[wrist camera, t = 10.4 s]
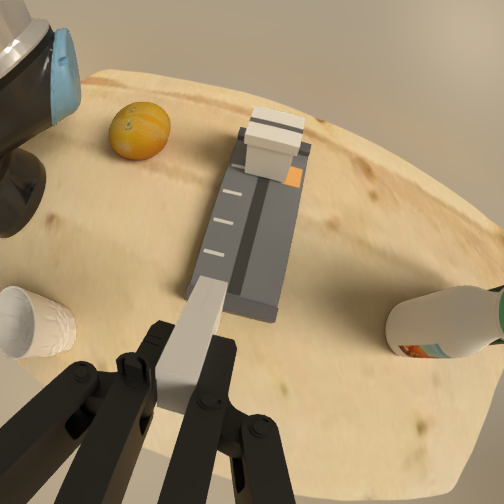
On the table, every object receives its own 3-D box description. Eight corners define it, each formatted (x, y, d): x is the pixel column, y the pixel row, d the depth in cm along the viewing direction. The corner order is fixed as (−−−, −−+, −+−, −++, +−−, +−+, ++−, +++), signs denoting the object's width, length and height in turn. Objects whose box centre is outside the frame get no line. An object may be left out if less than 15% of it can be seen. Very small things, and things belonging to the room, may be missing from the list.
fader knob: (286, 185, 35) (299, 146, 28) (241, 174, 35) (244, 133, 28) (292, 157, 37) (305, 117, 29) (250, 146, 37) (255, 105, 29)
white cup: (42, 293, 31) (-3, 278, 22) (85, 307, 32) (41, 295, 22) (34, 347, 29) (-13, 345, 19) (77, 365, 29) (31, 370, 20)
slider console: (271, 323, 33) (275, 322, 30) (188, 301, 33) (184, 298, 30) (306, 156, 40) (311, 144, 37) (239, 140, 40) (240, 126, 37)
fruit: (116, 173, 37) (96, 141, 29) (122, 132, 39) (107, 98, 32) (174, 164, 38) (163, 128, 30) (175, 123, 40) (167, 87, 33)
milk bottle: (372, 331, 33) (492, 315, 14) (405, 289, 35) (516, 245, 16) (405, 368, 32) (523, 374, 13) (434, 326, 34) (546, 305, 15)
